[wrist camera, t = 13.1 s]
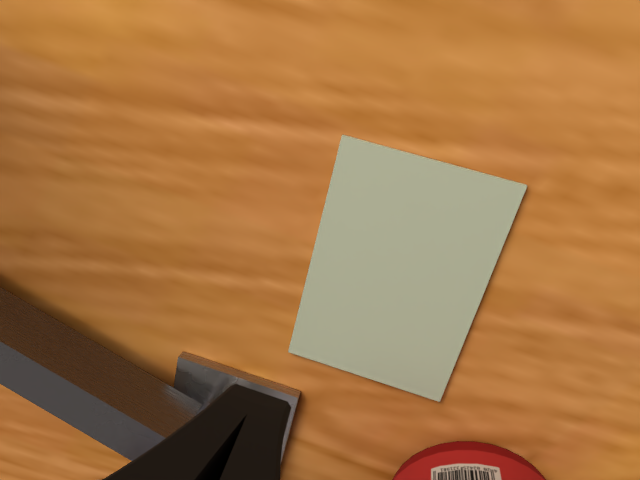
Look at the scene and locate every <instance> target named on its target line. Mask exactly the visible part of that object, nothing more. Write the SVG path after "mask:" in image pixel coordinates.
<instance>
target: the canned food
mask: <svg viewBox="0 0 640 480" xmlns="http://www.w3.org/2000/svg"><path fill="white" fill-rule="evenodd" d="M393 480H546V479H545V478H544V477H543V476H542V475H541V473H540V472H539V471H538V470H537V469H536V468H535V467H534V466H533V465H532V464H530V463H529V462H528V461H526V460H525V459H524V458H522V457H521V456H519V455H517V454H515V453H513V452H511V451H509V450H507V449H504V448H501V447H498V446H495V445H491V444H486V443H480V442H461V441H457V442H450V443H443V444H439V445H436V446H433V447H430V448H426V449H424V450H423V451H421V452H419V453H417V454H415V455H413V456H412V457H411V458H410V459H408V460H407V461H406V462H405V463H404V464H403V465H402V466H401V467H400V469H399V470H398V471H397V473H396V474H395V476H394V478H393Z"/></svg>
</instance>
